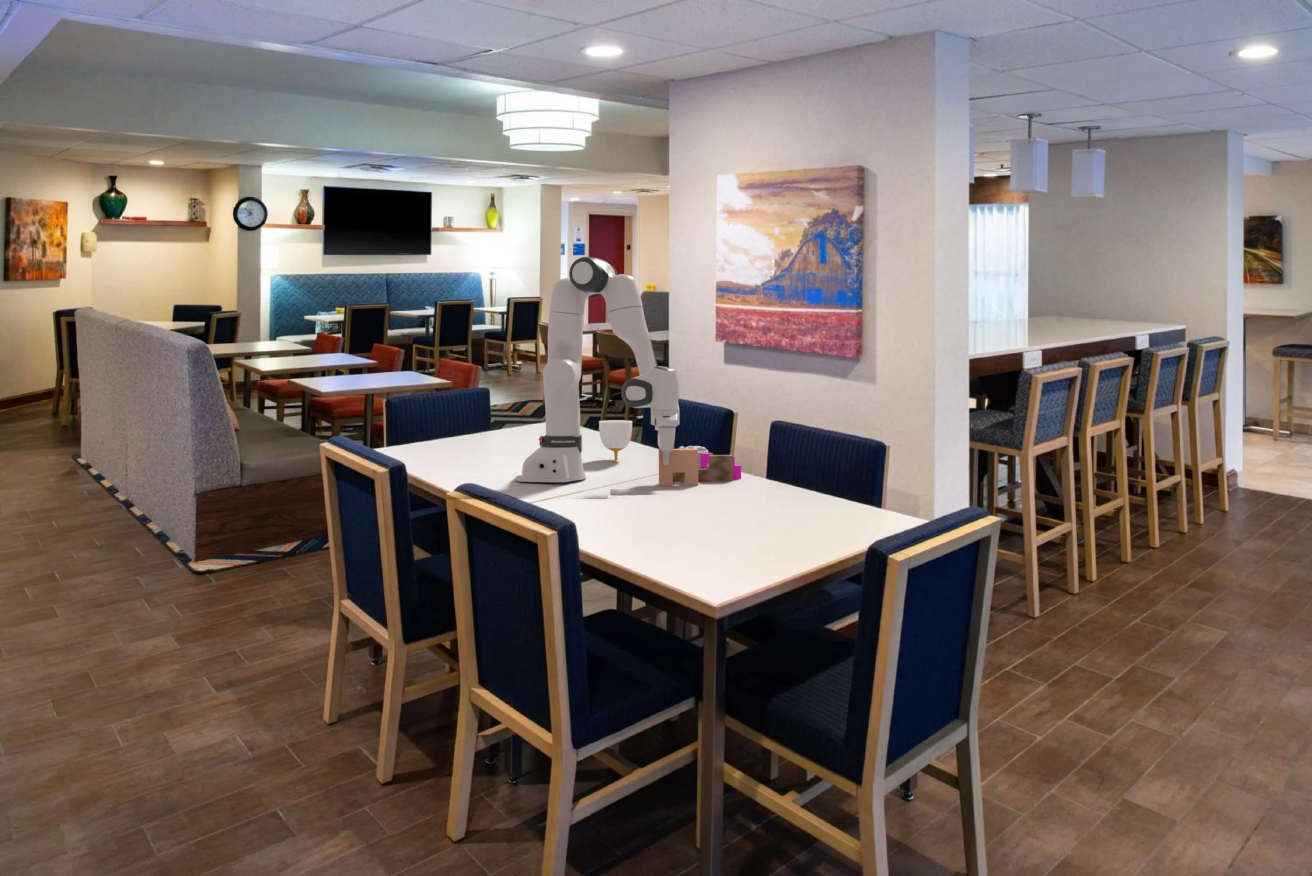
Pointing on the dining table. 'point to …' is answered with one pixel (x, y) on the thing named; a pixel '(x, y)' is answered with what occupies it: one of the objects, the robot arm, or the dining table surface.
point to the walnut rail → (713, 469)
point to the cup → (615, 434)
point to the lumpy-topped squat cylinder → (700, 450)
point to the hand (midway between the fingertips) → (665, 463)
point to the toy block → (705, 465)
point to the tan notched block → (679, 466)
